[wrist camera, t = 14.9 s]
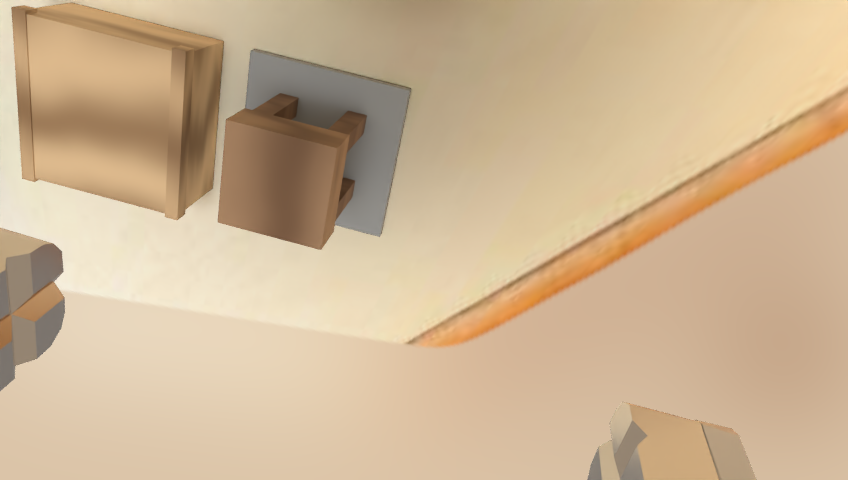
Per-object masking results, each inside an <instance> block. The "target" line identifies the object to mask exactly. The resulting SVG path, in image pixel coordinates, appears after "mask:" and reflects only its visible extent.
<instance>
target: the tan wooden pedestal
mask: <svg viewBox="0 0 848 480" xmlns="http://www.w3.org/2000/svg"><path fill="white" fill-rule="evenodd" d="M12 22H13V38H14V54H15V70H16V86H17V102H18V118H19V134H20V150H21V166H22V179H25V180H29V181H33V182H35V181H37V180H43V181H47V182H50V183H54V184H58V185H62V186H65V187H69V188H73V189H77V190H80V191H84V192H88V193H92V194H95V195H99V196H103V197H106V198H110V199H114V200H118V201H121V202H125V203H129V204H133V205H136V206H140V207H144V208H148V209H151V210H155V211H159V212H162V213H165V217H167V218H171V219H175V220H178V219H179V218H181V217H182V216H183V215H184V214H185V209H187V208H188V207H189V206H191V205H192V204H193V203H194V202H196V201H197V200H198V199H200V198H201V197H202V196H203V195H205V194H206V193H207V192H209V191H210V190H211V189H212V188H213V176H214V162H215V149H216V136H217V122H218V109H219V96H220V83H221V69H222V56H223V43H224V41H221V40H217V39H213V38H209V37H205V36H201V35H197V34H193V33H189V32H185V31H181V30H177V29H174V28H170V27H166V26H162V25H158V24H154V23H150V22H146V21H142V20H138V19H134V18H130V17H126V16H122V15H118V14H114V13H110V12H106V11H102V10H98V9H94V8H90V7H87V6H83V5H79V4H75V3H66V4H59V5H53V6H46V7H39V8H32V7H28V6H16V7H12Z"/></svg>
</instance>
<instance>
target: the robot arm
mask: <svg viewBox="0 0 848 480" xmlns="http://www.w3.org/2000/svg"><path fill="white" fill-rule="evenodd" d="M62 273H63V261H62V251H61V250H60V249H59V248H58V247H57V246H55V245H54V244H53V243H49V242H46V241H43V240H39V239H36V238H33V237H29V236H26V235H23V234H19V233H16V232H13V231H9V230H6V229H3V228H0V391H1V390H2V389H3V388H4V387H6V386H7V385H8V384H9V383H10V382H11V381H12V380H14V378H15V366H16V365H19V364H22V363H25V362H28V361H31V360H35V359H37V358H38V357H39V356H40V355H41V354H43V353H44V352H45V351H46V350H47V349H48V348H49V347H50V346H51V345H52V343H53V341H54V340H55V338H56V336H57V334H58V333H59V330H60V329H61V327H62V322H63V318H64V313H65V305H64V304H65V300H64V296H63V295H62V293H61V292H60V290H59V289H58V287H57V286H56V284H55V283H54V281H55V280H56V279H57V278H58V277H59V276H60V275H61V274H62ZM610 430H611V438H612V440H610V441H608V442H607V443H605V444H603V445H601V446H599V447H598V449H597V452H596V454H595V456H594V459H593V461H592V464H591V467H590V471H589V476H588V480H756V478H755V475H754V472H753V470H752V467H751V465H750V462H749V460H748V457H747V455H746V452H745V450H744V447H743V445H742V442H741V440H740V437H739V435H738V434H737V433H736V432H735V431H734V430H733V429H731V428H727V427H723V426H719V425H714V424H711V423H706V422H702V421H698V420H690V419H686V418H682V417H679V416H675V415H671V414H668V413H664V412H660V411H656V410H652V409H649V408H645V407H641V406H637V405H634V404H630V403H626V402H622V403H621V404H620V406H619V407H618V408H617V409H616V411H615V413H614V415H613V417H612V419H611V421H610Z"/></svg>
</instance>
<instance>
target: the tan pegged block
mask: <svg viewBox="0 0 848 480" xmlns="http://www.w3.org/2000/svg"><path fill="white" fill-rule="evenodd" d="M298 99H299V98H298V97H294V96H290V95H286V94H282V93H279V94H278V95H276V96H274V97H273V98H271V99H270V100H268V101H266V102H265V103H263V104H261V105H260V106H258V107H257V108H255V109H253V110H250V109H247V108H245V109H243V110H241V111H240V112H238V113H236V114H235V115H233V116H231V117H230V118H228V119H226V126H225V139H224V151H223V163H222V176H221V188H220V200H219V213H218V222H219V223H222V224H226V225H230V226H234V227H237V228H241V229H245V230H249V231H252V232H256V233H260V234H263V235H267V236H271V237H275V238H278V239H282V240H286V241H290V242H293V243H297V244H301V245H305V246H308V247H312V248H316V249H320V250H321V249H322V248H323V246H324V245H325V243H326V242H327V240H328V239H329V237H330V236H331V235H332V233H333V232H334V226H335V221H336V220H337V218H338V217H339V215H340V214H341V213H342V211H343V210H344V208H345V207H346V206H347V204H348V203H349V201H350V200H351V199H352V197H353V191H354V185H355V180H351V179H348V178H344V177H343V172H344V166H345V160H346V155H347V152H348V151H349V150H350V149H351V148H352V146H353V145H354V144H355V143H356V142H357V141H358V140H359V138H360V137H361V136H362V135H363V134H364V129H365V124H366V118H367V115H364V114H360V113H356V112H352V111H347V112H346V113H345V114H344V115H343V116H342V117H341V118H340V119H338V120H337V121H336V122H335V123H334V124H333V125H332V126H331V127H330V128H329V129H324V128H320V127H316V126H313V125H309V124H305V123H301V122H297V121H293V120H292V119H293V118H295V117H296V114H297V107H298Z"/></svg>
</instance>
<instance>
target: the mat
mask: <svg viewBox="0 0 848 480" xmlns="http://www.w3.org/2000/svg"><path fill="white" fill-rule="evenodd" d="M410 92H411V88H407V87H403V86H399V85H395V84H391V83H387V82H383V81H379V80H375V79H371V78H367V77H363V76H359V75H355V74H351V73H347V72H344V71H340V70H336V69H332V68H328V67H324V66H320V65H316V64H312V63H308V62H304V61H300V60H296V59H292V58H288V57H284V56H280V55H276V54H272V53H268V52H264V51H261V50H257V49H253V50H251V53H250V63H249V74H248V85H247V95H246V106H245V108H247V109H250V110H253V109H255V108H257V107H258V106H260V105H261V104H263V103H265V102H266V101H268V100H270V99H271V98H273V97H274V96H276V95H278V94H279V93H282V94H286V95H290V96H294V97H298V98H299V99H298V107H297V114H296V117H295V118H293V119H292V120H293V121H297V122H301V123H305V124H309V125H313V126H316V127H320V128H324V129H329V128H330V127H331V126H332V125H333V124H334V123H335V122H336V121H337V120H338V119H340V118H341V117H342V116H343V115H344V114H345V113H346V112H347V111H352V112H356V113H360V114H364V115H367V118H366V124H365V129H364V134H363V135H362V136H361V137H360V138H359V140H358V141H357V142H356V143H355V144H354V145H353V146H352V148H351V149H350V150H349V151H348V152H347V155H346V160H345V166H344V172H343V177H344V178H348V179H351V180H355V185H354V191H353V197H352V199H351V200H350V201H349V203H348V204H347V206H346V207H345V208H344V210H343V211H342V213H341V214H340V215H339V217H338V218H337V220H336V221H335V225H337V226H341V227H345V228H348V229H352V230H356V231H360V232H363V233H367V234H371V235H375V236H379V237H380V235H381V233H382V229H383V224H384V219H385V214H386V209H387V204H388V200H389V195H390V190H391V185H392V180H393V175H394V170H395V165H396V161H397V156H398V151H399V146H400V141H401V136H402V131H403V126H404V122H405V117H406V112H407V107H408V102H409V97H410Z"/></svg>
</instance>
